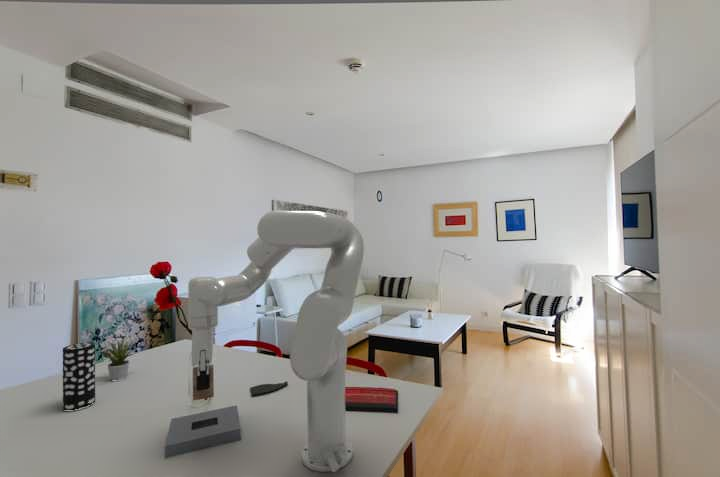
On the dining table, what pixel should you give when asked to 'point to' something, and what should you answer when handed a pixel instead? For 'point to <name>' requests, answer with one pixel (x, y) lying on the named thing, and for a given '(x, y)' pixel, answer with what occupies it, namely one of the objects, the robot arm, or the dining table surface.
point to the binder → (371, 399)
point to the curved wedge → (267, 389)
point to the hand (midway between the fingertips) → (203, 386)
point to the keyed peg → (207, 392)
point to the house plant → (118, 360)
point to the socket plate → (202, 431)
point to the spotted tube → (78, 375)
